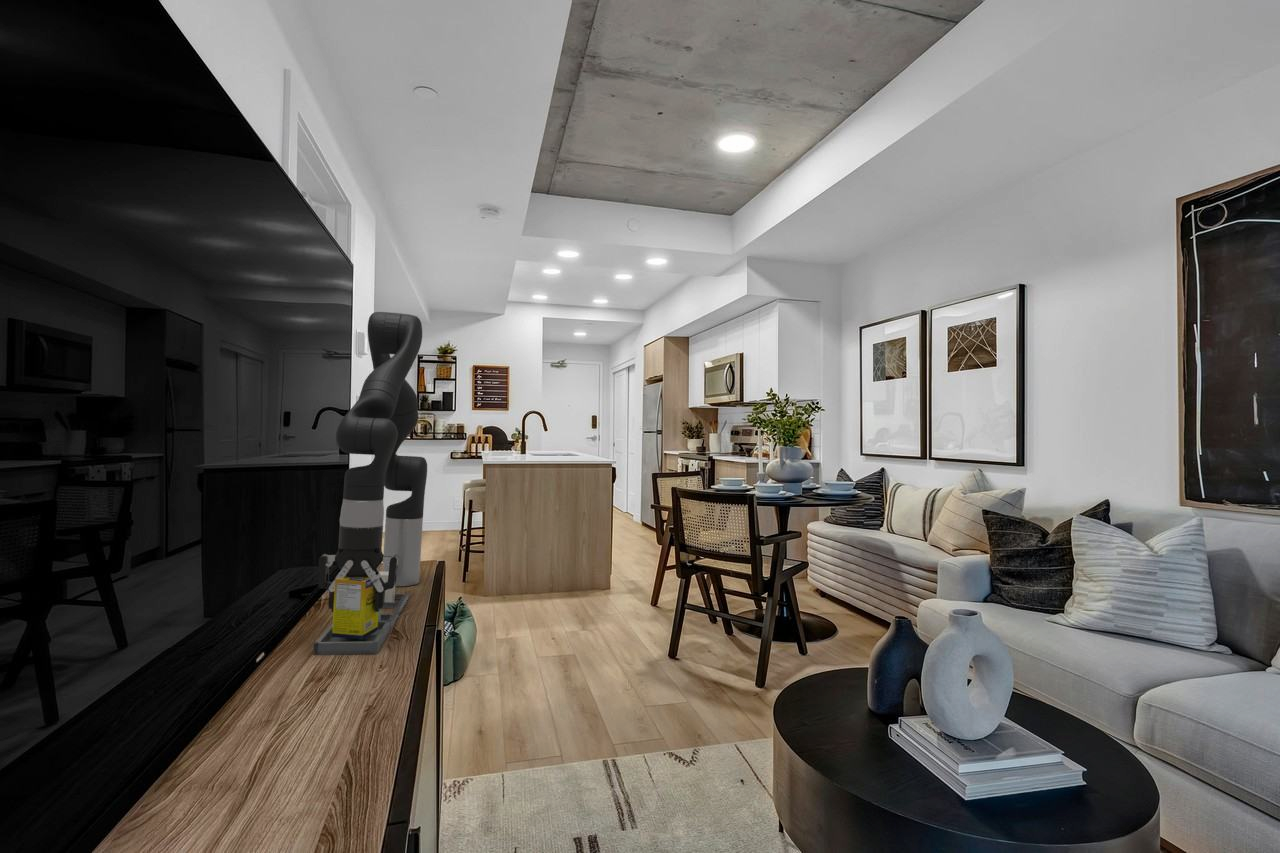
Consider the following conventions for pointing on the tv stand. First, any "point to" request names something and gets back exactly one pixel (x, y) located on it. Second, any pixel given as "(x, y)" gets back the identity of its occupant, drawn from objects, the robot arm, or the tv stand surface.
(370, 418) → the robot arm
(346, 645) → the tray
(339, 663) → the tv stand surface
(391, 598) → the cream block
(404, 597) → the rails
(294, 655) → the tv stand surface
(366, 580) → the supplement box
